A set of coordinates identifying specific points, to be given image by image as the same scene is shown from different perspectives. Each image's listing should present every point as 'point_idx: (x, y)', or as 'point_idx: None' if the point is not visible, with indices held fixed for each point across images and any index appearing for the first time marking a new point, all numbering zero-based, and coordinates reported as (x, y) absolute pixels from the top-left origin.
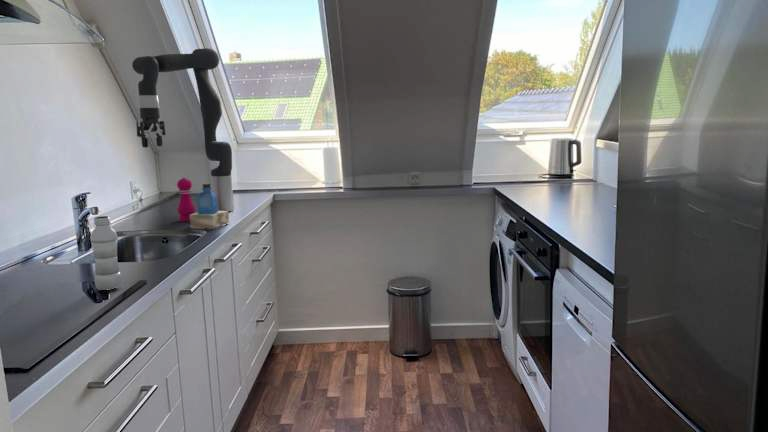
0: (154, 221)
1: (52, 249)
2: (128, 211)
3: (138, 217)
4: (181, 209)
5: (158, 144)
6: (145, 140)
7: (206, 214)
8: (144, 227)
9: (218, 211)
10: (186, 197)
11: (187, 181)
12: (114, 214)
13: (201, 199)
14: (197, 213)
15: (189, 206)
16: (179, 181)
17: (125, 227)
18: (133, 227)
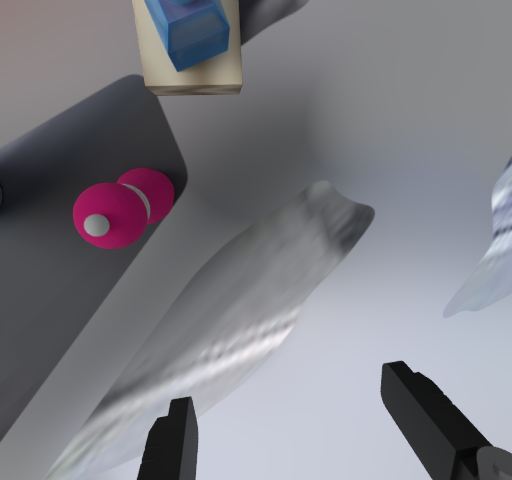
0: (206, 265)
1: (497, 230)
2: (133, 420)
3: (182, 341)
4: (170, 194)
5: (193, 433)
6: (457, 426)
7: None
8: (276, 228)
9: None
10: (139, 189)
11: (108, 191)
12: None
13: (222, 6)
14: (216, 68)
15: (147, 174)
16: (134, 224)
17: (291, 271)
18: (285, 253)
